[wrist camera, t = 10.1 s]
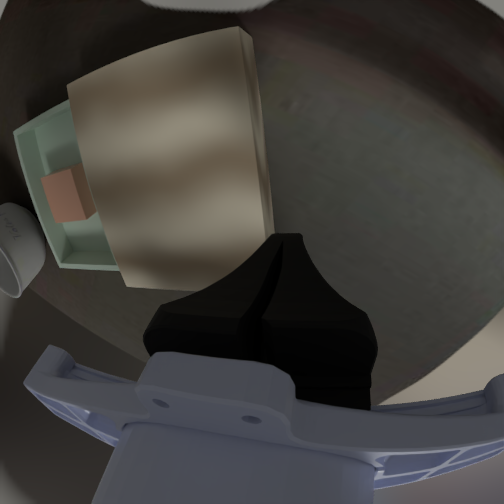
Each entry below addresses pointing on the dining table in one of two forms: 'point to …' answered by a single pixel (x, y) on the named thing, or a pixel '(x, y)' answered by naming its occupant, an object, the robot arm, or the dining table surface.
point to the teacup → (19, 248)
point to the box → (35, 167)
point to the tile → (69, 194)
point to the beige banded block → (177, 159)
